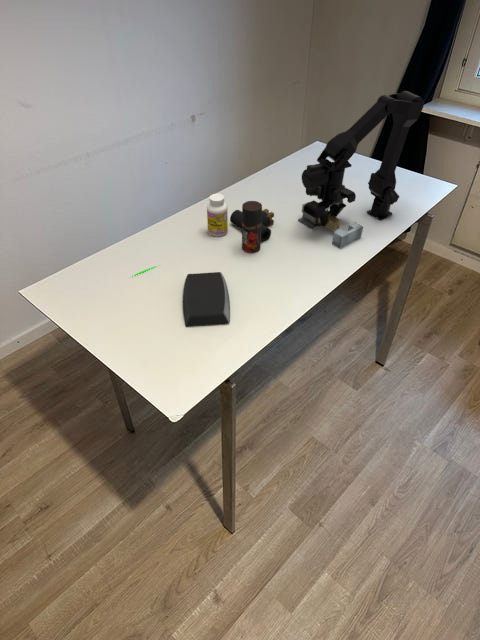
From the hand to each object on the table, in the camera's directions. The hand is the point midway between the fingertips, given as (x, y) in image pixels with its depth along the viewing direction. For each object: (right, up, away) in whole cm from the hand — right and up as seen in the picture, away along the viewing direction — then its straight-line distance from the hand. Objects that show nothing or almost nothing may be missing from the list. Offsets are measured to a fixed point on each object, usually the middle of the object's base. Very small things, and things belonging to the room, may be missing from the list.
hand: (326, 224), depth 149 cm
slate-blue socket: (+6, -6, -4) cm, 9 cm away
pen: (-59, -18, -16) cm, 63 cm away
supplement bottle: (-37, -3, 0) cm, 37 cm away
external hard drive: (-39, -27, -25) cm, 54 cm away
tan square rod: (-2, +2, +1) cm, 3 cm away
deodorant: (-25, -9, -7) cm, 28 cm away
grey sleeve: (-4, +2, +4) cm, 6 cm away
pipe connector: (-23, -1, +2) cm, 23 cm away
